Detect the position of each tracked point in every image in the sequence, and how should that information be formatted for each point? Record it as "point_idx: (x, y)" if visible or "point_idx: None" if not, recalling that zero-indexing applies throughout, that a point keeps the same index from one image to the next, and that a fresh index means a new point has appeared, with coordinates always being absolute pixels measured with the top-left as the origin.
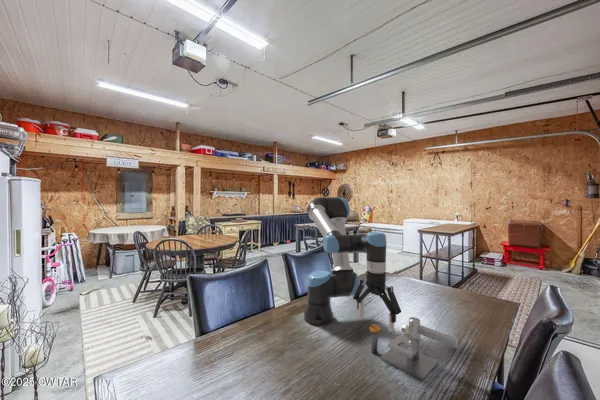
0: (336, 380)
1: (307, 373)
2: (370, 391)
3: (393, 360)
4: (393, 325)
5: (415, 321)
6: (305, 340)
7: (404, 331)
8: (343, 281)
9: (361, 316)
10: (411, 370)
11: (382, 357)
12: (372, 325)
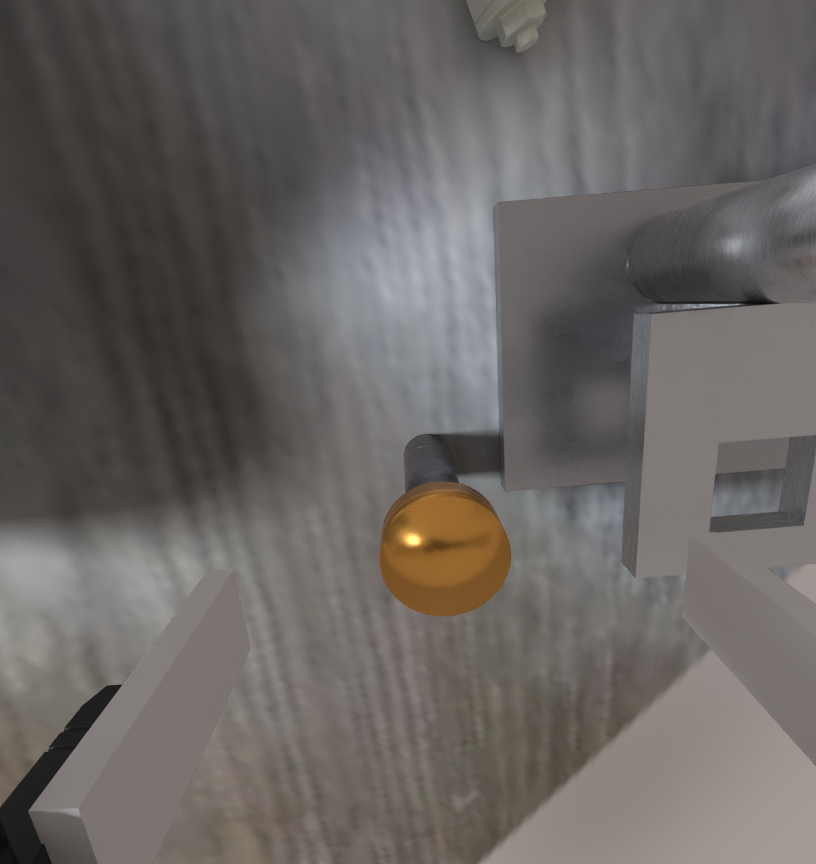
0: (450, 788)
1: (326, 852)
2: (607, 723)
3: (590, 457)
4: (754, 570)
5: None
6: (52, 715)
7: None
8: None
9: (235, 635)
10: (725, 453)
11: (518, 488)
12: (407, 558)
